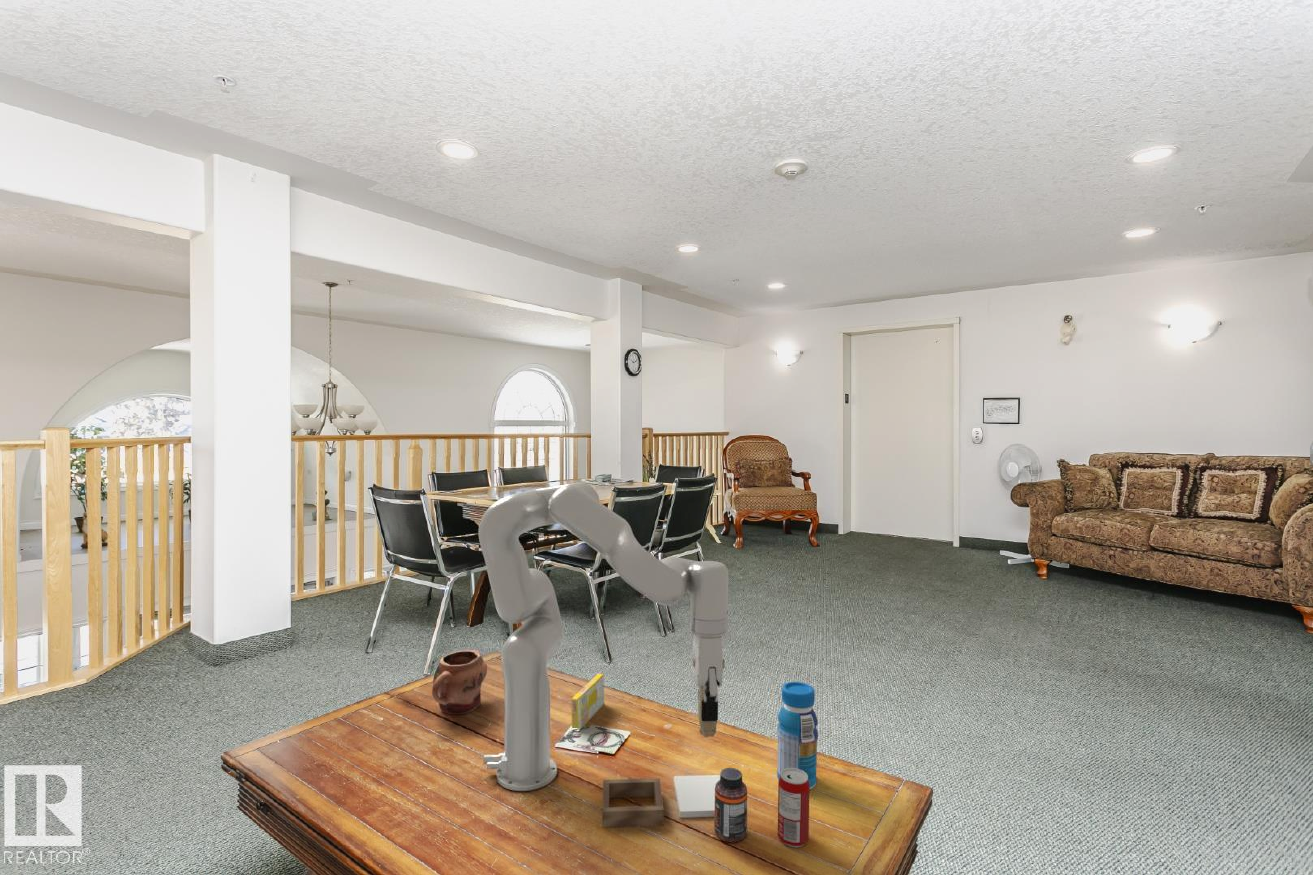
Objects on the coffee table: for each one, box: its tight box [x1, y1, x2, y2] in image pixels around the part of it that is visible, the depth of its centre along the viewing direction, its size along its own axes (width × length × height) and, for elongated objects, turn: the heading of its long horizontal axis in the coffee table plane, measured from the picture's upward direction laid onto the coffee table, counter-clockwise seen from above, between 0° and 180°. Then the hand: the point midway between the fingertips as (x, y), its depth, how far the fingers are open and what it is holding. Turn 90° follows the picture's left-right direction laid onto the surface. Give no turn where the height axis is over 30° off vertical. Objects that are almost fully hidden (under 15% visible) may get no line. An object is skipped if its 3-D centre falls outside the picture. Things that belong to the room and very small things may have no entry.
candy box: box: [570, 673, 605, 729], centre depth 161 cm, size 16×2×8 cm, turn 162°
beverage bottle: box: [776, 681, 819, 790], centre depth 133 cm, size 8×8×20 cm
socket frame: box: [601, 777, 665, 828], centre depth 122 cm, size 11×10×3 cm
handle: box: [691, 657, 726, 738], centre depth 126 cm, size 5×6×15 cm
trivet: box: [673, 774, 720, 819], centre depth 126 cm, size 12×12×1 cm
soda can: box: [777, 768, 811, 848], centre depth 114 cm, size 6×6×12 cm
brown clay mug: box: [431, 649, 488, 715], centre depth 163 cm, size 20×12×14 cm, turn 168°
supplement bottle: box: [713, 767, 748, 843], centre depth 116 cm, size 6×6×11 cm
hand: (707, 713), depth 126 cm, fingers closed on handle, 4 cm apart
